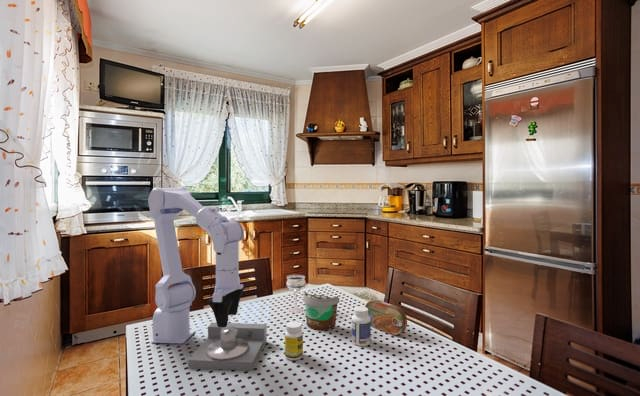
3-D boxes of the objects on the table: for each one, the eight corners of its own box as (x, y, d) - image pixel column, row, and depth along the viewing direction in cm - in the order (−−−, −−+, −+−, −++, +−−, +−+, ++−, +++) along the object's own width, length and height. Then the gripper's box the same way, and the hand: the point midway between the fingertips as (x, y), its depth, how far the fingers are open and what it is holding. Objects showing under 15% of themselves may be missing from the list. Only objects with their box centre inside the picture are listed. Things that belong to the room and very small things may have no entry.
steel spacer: (219, 350, 83) (218, 333, 83) (223, 343, 87) (222, 326, 87) (235, 350, 83) (234, 333, 83) (238, 342, 87) (238, 326, 87)
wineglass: (296, 305, 123) (296, 273, 123) (309, 310, 118) (309, 277, 118) (282, 310, 118) (282, 277, 118) (295, 315, 113) (295, 280, 113)
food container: (296, 328, 103) (296, 296, 103) (304, 320, 109) (304, 290, 108) (333, 334, 98) (333, 301, 98) (339, 326, 104) (339, 295, 104)
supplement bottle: (300, 361, 83) (300, 329, 83) (282, 359, 84) (282, 327, 84) (304, 352, 88) (304, 321, 88) (287, 350, 89) (287, 320, 88)
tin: (363, 323, 107) (363, 297, 107) (369, 320, 109) (369, 295, 109) (402, 339, 95) (402, 311, 95) (408, 336, 97) (409, 308, 97)
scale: (188, 367, 80) (187, 347, 80) (212, 339, 95) (212, 322, 95) (252, 370, 79) (252, 350, 79) (266, 341, 94) (266, 324, 94)
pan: (199, 359, 80) (199, 356, 80) (215, 339, 91) (215, 337, 91) (241, 361, 79) (241, 358, 79) (252, 341, 90) (252, 338, 90)
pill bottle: (372, 340, 95) (372, 307, 95) (367, 348, 90) (367, 313, 90) (354, 336, 97) (355, 304, 97) (348, 344, 92) (349, 310, 92)
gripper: (233, 276, 77) (233, 333, 77) (250, 262, 91) (250, 310, 92) (203, 275, 77) (204, 332, 78) (225, 261, 92) (225, 309, 92)
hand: (227, 320), depth 85 cm, fingers open, 7 cm apart
